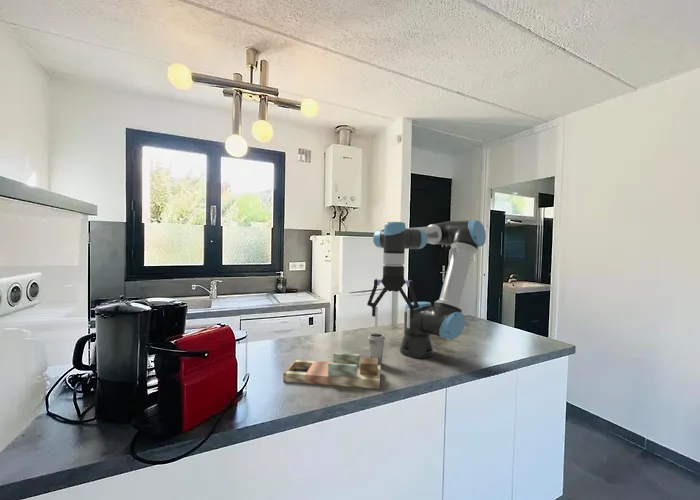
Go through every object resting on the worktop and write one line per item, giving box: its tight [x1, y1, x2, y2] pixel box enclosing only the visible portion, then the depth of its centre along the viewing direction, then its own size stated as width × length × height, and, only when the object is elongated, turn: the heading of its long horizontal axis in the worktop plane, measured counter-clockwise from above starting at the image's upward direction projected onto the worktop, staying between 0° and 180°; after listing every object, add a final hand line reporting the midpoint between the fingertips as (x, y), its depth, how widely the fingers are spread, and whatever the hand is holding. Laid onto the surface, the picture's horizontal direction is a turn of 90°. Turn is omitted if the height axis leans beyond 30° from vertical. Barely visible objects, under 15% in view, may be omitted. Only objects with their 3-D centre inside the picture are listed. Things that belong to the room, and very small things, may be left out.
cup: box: [367, 332, 386, 366], centre depth 128 cm, size 7×7×12 cm
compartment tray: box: [282, 352, 381, 390], centre depth 114 cm, size 34×13×7 cm, turn 83°
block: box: [360, 356, 378, 376], centre depth 113 cm, size 6×6×4 cm
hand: (392, 326), depth 112 cm, fingers open, 11 cm apart
